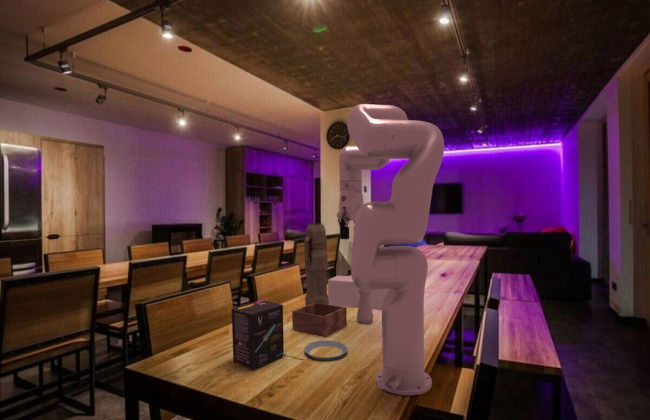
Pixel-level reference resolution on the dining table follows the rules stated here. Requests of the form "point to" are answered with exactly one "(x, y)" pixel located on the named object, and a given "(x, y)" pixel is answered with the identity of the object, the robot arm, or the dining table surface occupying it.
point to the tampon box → (257, 333)
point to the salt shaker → (364, 307)
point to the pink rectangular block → (352, 293)
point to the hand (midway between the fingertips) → (351, 238)
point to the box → (319, 319)
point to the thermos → (316, 264)
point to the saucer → (325, 343)
